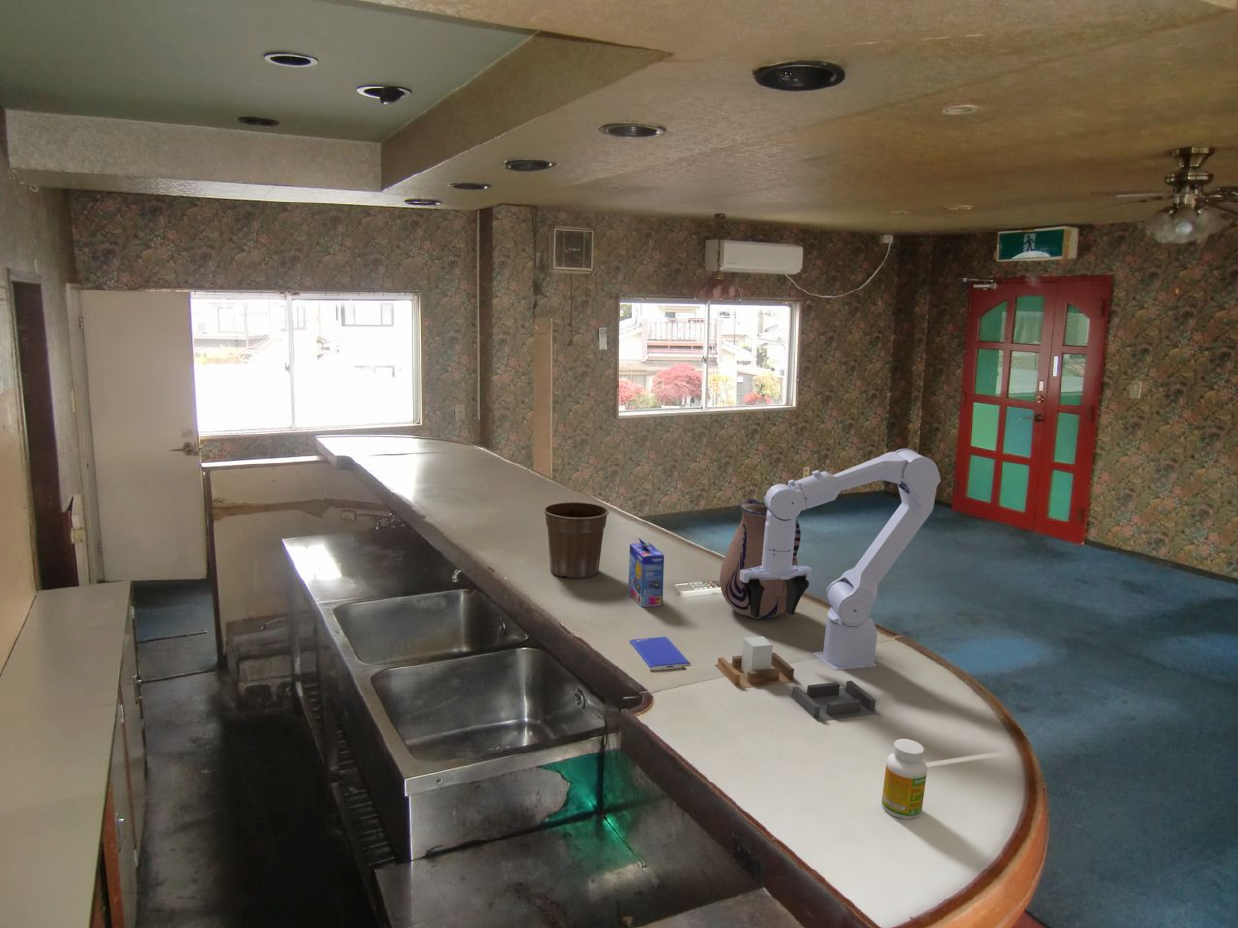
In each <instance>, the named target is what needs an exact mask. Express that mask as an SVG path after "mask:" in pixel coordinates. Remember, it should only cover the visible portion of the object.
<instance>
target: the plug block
mask: <svg viewBox="0 0 1238 928" xmlns="http://www.w3.org/2000/svg"><path fill="white" fill-rule="evenodd" d="M773 648H774V644H772V643H771V642H770V641H769V640H768V639H767V638H766V637H764V636H753V637H743V640H742V654H741V656H742V664H741V671H742V672H743V673H744V674H745V675H746V676H747V677H748V671H755V670H765V669H771V660H772V653H773Z"/></svg>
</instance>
